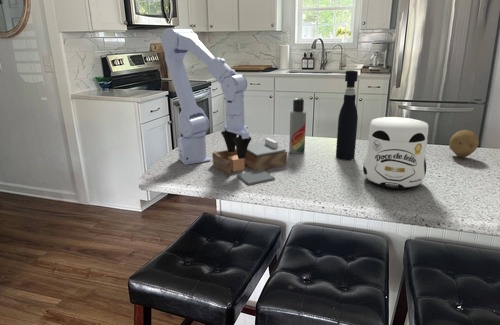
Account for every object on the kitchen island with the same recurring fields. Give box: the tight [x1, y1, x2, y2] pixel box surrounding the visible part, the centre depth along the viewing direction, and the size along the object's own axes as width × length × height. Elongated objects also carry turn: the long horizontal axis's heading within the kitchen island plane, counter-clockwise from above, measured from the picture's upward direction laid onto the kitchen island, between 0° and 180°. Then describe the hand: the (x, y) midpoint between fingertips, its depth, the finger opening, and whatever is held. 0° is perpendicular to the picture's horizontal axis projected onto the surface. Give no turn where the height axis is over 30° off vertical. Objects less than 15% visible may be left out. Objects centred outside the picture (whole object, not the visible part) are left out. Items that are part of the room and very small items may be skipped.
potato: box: [448, 129, 480, 159], centre depth 129 cm, size 9×9×10 cm
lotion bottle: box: [288, 97, 307, 155], centre depth 135 cm, size 6×6×20 cm
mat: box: [236, 169, 276, 186], centre depth 114 cm, size 9×8×1 cm
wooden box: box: [211, 148, 288, 177], centre depth 125 cm, size 22×12×4 cm, turn 118°
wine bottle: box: [335, 70, 359, 161], centre depth 127 cm, size 6×6×30 cm
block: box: [228, 155, 246, 172], centre depth 122 cm, size 4×4×4 cm
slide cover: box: [247, 137, 287, 156], centre depth 126 cm, size 11×12×3 cm
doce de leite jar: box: [362, 116, 429, 190], centre depth 107 cm, size 17×17×18 cm
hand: (236, 154), depth 121 cm, fingers open, 7 cm apart
